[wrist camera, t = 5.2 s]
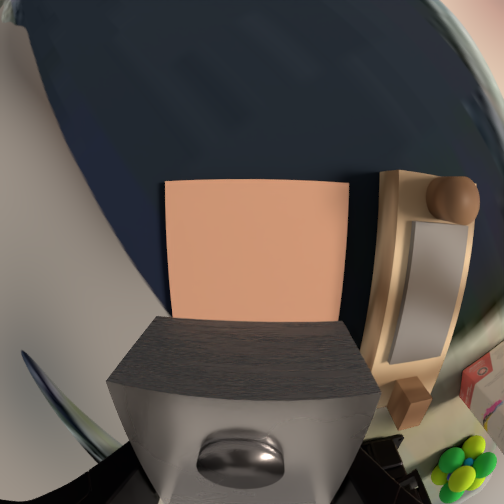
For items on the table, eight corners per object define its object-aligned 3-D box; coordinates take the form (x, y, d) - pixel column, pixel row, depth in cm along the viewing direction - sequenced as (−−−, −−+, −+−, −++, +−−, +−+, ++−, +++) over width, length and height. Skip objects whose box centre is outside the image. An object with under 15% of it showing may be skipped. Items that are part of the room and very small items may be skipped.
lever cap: (306, 476, 9) (314, 559, 4) (191, 471, 9) (171, 552, 4) (342, 321, 7) (411, 452, 3) (156, 315, 7) (67, 432, 3)
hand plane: (415, 379, 21) (442, 418, 15) (350, 388, 21) (368, 436, 15) (452, 183, 17) (503, 185, 11) (379, 172, 17) (424, 167, 11)
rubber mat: (325, 382, 21) (326, 386, 20) (183, 379, 21) (182, 383, 21) (346, 183, 17) (348, 183, 17) (168, 181, 18) (165, 181, 17)
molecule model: (438, 449, 24) (424, 475, 26) (460, 489, 16) (440, 511, 17) (481, 426, 24) (465, 455, 25) (505, 459, 15) (483, 486, 17)
